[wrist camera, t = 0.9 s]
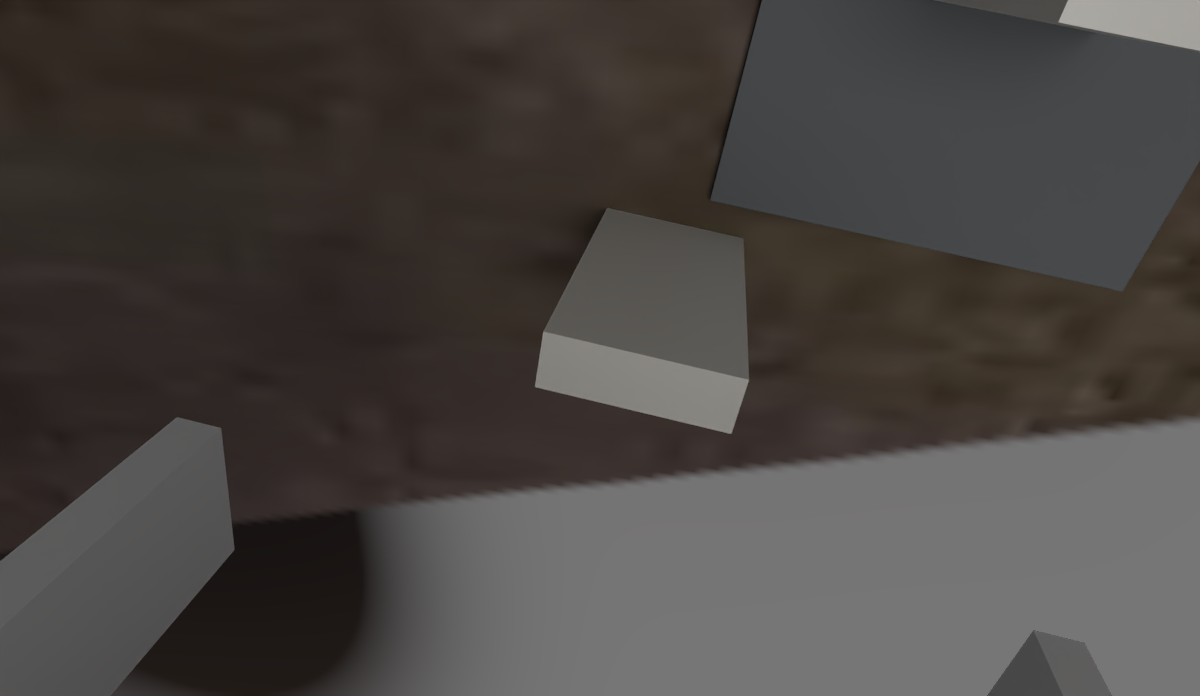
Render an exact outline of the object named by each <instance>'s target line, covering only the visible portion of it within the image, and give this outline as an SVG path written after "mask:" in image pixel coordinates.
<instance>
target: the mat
mask: <svg viewBox="0 0 1200 696" xmlns="http://www.w3.org/2000/svg"><path fill="white" fill-rule="evenodd" d="M1199 161H1200V52H1195V51H1189V50H1184V49H1179V48H1173V47H1168V46H1163V45H1158V44H1152V43H1147V42H1142V41H1137V40H1131V39H1126V38H1121V37H1116V36H1110V35H1105V34H1100V33H1095V32H1090V31H1085V30H1080V29H1075V28H1070V27H1065V26H1060V25H1055V24H1050V23H1045V22H1040V21H1035V20H1030V19H1025V18H1020V17H1015V16H1010V15H1005V14H1000V13H995V12H990V11H985V10H980V9H975V8H970V7H965V6H960V5H955V4H950V3H946V2H941V1H936V0H761V4H760V8H759V12H758V15H757V19H756V23H755V27H754V31H753V35H752V39H751V43H750V46H749V50H748V54H747V58H746V62H745V66H744V70H743V73H742V77H741V81H740V85H739V89H738V93H737V97H736V101H735V104H734V108H733V112H732V116H731V120H730V124H729V128H728V132H727V135H726V139H725V143H724V147H723V151H722V155H721V159H720V162H719V166H718V170H717V174H716V178H715V182H714V186H713V190H712V193H711V197H710V200H711V201H715V202H720V203H724V204H729V205H733V206H738V207H742V208H747V209H751V210H756V211H760V212H765V213H769V214H774V215H778V216H783V217H788V218H792V219H797V220H801V221H806V222H810V223H815V224H819V225H824V226H828V227H833V228H837V229H842V230H846V231H851V232H855V233H860V234H864V235H869V236H873V237H878V238H883V239H887V240H892V241H896V242H901V243H905V244H910V245H914V246H919V247H923V248H928V249H932V250H937V251H941V252H946V253H950V254H955V255H959V256H964V257H969V258H973V259H978V260H982V261H987V262H991V263H996V264H1000V265H1005V266H1009V267H1014V268H1018V269H1023V270H1027V271H1032V272H1036V273H1041V274H1045V275H1050V276H1054V277H1059V278H1064V279H1068V280H1073V281H1077V282H1082V283H1086V284H1091V285H1095V286H1100V287H1104V288H1109V289H1113V290H1118V291H1123V289H1124V288H1125V286H1126V284H1127V283H1128V281H1129V279H1130V278H1131V276H1132V274H1133V273H1134V271H1135V269H1136V268H1137V266H1138V264H1139V262H1140V261H1141V259H1142V257H1143V256H1144V254H1145V252H1146V251H1147V249H1148V247H1149V246H1150V244H1151V242H1152V241H1153V239H1154V237H1155V235H1156V234H1157V232H1158V230H1159V229H1160V227H1161V225H1162V224H1163V222H1164V220H1165V219H1166V217H1167V215H1168V214H1169V212H1170V210H1171V208H1172V207H1173V205H1174V203H1175V202H1176V200H1177V198H1178V197H1179V195H1180V193H1181V192H1182V190H1183V188H1184V187H1185V185H1186V183H1187V181H1188V180H1189V178H1190V176H1191V175H1192V173H1193V171H1194V170H1195V168H1196V166H1197V165H1198V163H1199Z"/></svg>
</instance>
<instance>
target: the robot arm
mask: <svg viewBox="0 0 1200 696" xmlns="http://www.w3.org/2000/svg"><path fill="white" fill-rule="evenodd" d="M233 551H234V541H233V532H232V523H231V514H230V504H229V495H228V486H227V477H226V468H225V459H224V450H223V441H222V432H221V428H219V427H215V426H211V425H207V424H203V423H199V422H194V421H190V420H186V419H182V418H178V417H177V418H175V419H174V420H173V421H172V422H170V423H169V424H168V425H167V426H166V427H164V428H163V429H162V430H161V431H159V432H158V433H157V434H156V435H154V436H153V437H152V438H151V439H150V440H148V441H147V442H146V443H145V444H143V445H142V446H141V447H140V448H139V449H137V450H136V451H135V452H134V453H132V454H131V455H130V456H129V457H128V458H126V459H125V460H124V461H123V462H121V463H120V464H119V465H118V466H116V467H115V468H114V469H113V470H112V471H110V472H109V473H108V474H107V475H105V476H104V477H103V478H102V479H101V480H99V481H98V482H97V483H96V484H94V485H93V486H92V487H91V488H90V489H88V490H87V491H86V492H85V493H83V494H82V495H81V496H80V497H79V498H77V499H76V500H75V501H74V502H72V503H71V504H70V505H69V506H67V507H66V508H65V509H64V510H63V511H61V512H60V513H59V514H58V515H56V516H55V517H54V518H53V519H52V520H50V521H49V522H48V523H47V524H45V525H44V526H43V527H42V528H41V529H39V530H38V531H37V532H36V533H34V534H33V535H32V536H31V537H29V538H28V539H27V540H26V541H25V542H23V543H22V544H21V545H20V546H18V547H17V548H16V549H15V550H14V551H12V552H11V553H10V554H9V555H7V556H6V557H5V558H4V559H3V560H1V561H0V696H110V695H111V694H112V693H113V692H114V691H115V690H116V688H117V687H118V686H119V685H120V684H121V682H122V681H123V680H124V679H125V678H126V677H127V675H128V674H129V673H130V671H132V670H133V668H134V667H135V666H136V665H137V664H138V662H139V661H140V660H141V659H142V658H143V656H144V655H145V654H146V653H147V652H148V651H149V649H150V648H151V647H152V646H153V645H154V644H155V642H156V641H157V640H158V639H159V638H160V636H161V635H162V634H163V633H164V632H165V631H166V630H167V628H168V627H169V626H170V625H171V624H172V623H173V621H174V620H175V619H176V618H177V617H178V615H179V614H180V613H181V612H182V611H183V609H184V608H185V607H186V606H187V605H188V604H189V603H190V601H191V600H192V599H193V598H194V597H195V595H196V594H197V593H198V592H199V591H200V590H201V588H202V587H203V586H204V585H205V584H206V583H207V581H208V580H209V579H210V578H211V577H212V575H213V574H214V573H215V572H216V571H217V569H218V568H219V567H220V566H221V565H222V564H223V563H224V561H225V560H226V559H227V558H228V557H229V555H230V554H231V553H232V552H233ZM987 696H1112V695H1111V693H1110V691H1109V690H1108V687H1107V686H1106V684H1105V682H1104V680H1103V678H1102V676H1101V674H1100V672H1099V670H1098V668H1097V666H1096V664H1095V662H1094V660H1093V658H1092V657H1091V655H1090V653H1089V651H1088V649H1087V647H1086V645H1085V643H1083V642H1079V641H1075V640H1071V639H1067V638H1062V637H1059V636H1055V635H1051V634H1047V633H1043V632H1039V631H1035V630H1034V631H1033V632H1032V633H1031V634H1030V636H1029V637H1028V639H1027V640H1026V642H1025V643H1024V644H1023V646H1022V647H1021V649H1020V650H1019V652H1018V653H1017V654H1016V656H1015V657H1014V659H1013V660H1012V661H1011V663H1010V664H1009V666H1008V667H1007V668H1006V670H1005V671H1004V673H1003V674H1002V676H1001V677H1000V678H999V680H998V681H997V683H996V684H995V685H994V687H993V689H992V690H991V691H990V693H989V694H988V695H987Z"/></svg>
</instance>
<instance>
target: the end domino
mask: <svg viewBox="0 0 1200 696" xmlns="http://www.w3.org/2000/svg"><path fill="white" fill-rule="evenodd" d="M748 382H749V366H748V341H747V315H746V290H745V264H744V239H743V238H740V237H736V236H731V235H727V234H722V233H718V232H713V231H709V230H704V229H700V228H696V227H691V226H687V225H682V224H678V223H673V222H669V221H664V220H660V219H655V218H651V217H646V216H642V215H637V214H633V213H628V212H624V211H619V210H615V209H611V208H607V209H606V211H605V213H604V215H603V217H602V219H601V221H600V223H599V225H598V226H597V228H596V230H595V232H594V234H593V236H592V238H591V240H590V242H589V244H588V246H587V248H586V250H585V252H584V254H583V256H582V258H581V260H580V261H579V263H578V265H577V267H576V269H575V271H574V273H573V275H572V277H571V279H570V281H569V283H568V285H567V287H566V289H565V291H564V293H563V295H562V296H561V298H560V300H559V302H558V304H557V306H556V308H555V310H554V312H553V314H552V316H551V318H550V320H549V322H548V324H547V326H546V328H545V330H544V331H543V338H542V344H541V351H540V357H539V364H538V370H537V377H536V383H535V387H537V388H541V389H546V390H550V391H554V392H558V393H562V394H566V395H571V396H575V397H579V398H583V399H587V400H591V401H596V402H600V403H604V404H608V405H612V406H616V407H621V408H625V409H629V410H633V411H637V412H641V413H646V414H650V415H654V416H658V417H662V418H667V419H671V420H675V421H679V422H683V423H687V424H692V425H696V426H700V427H704V428H708V429H712V430H717V431H721V432H725V433H729V434H731V433H732V430H733V427H734V424H735V421H736V418H737V415H738V412H739V409H740V406H741V403H742V400H743V397H744V394H745V391H746V388H747V385H748Z"/></svg>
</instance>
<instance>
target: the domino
mask: <svg viewBox="0 0 1200 696" xmlns="http://www.w3.org/2000/svg"><path fill="white" fill-rule="evenodd" d="M936 1H941V2H946V3H950V4H955V5H960V6H965V7H970V8H975V9H980V10H985V11H990V12H995V13H1000V14H1005V15H1010V16H1015V17H1020V18H1025V19H1030V20H1035V21H1040V22H1045V23H1050V24H1055V25H1060V26H1065V27H1070V28H1075V29H1080V30H1085V31H1090V32H1095V33H1100V34H1105V35H1110V36H1116V37H1121V38H1126V39H1131V40H1137V41H1142V42H1147V43H1152V44H1158V45H1163V46H1168V47H1173V48H1179V49H1184V50H1189V51H1195V52H1200V0H936Z"/></svg>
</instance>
